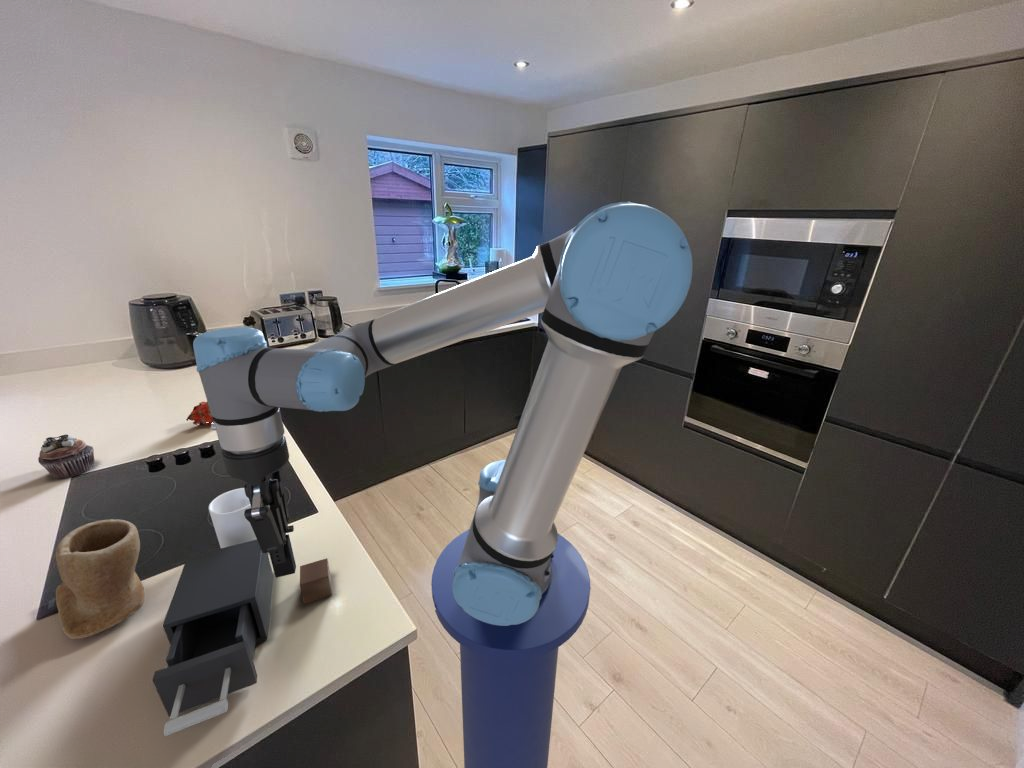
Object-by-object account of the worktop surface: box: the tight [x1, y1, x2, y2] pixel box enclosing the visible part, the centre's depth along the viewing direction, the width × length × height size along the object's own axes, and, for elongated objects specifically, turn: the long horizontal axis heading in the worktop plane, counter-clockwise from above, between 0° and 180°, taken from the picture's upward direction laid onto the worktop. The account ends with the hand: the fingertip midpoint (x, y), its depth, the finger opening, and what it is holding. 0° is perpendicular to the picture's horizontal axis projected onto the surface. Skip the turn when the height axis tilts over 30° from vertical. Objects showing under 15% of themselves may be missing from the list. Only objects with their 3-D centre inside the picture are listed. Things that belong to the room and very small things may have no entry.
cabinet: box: [162, 539, 274, 646], centre depth 65 cm, size 14×11×9 cm
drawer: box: [151, 603, 258, 737], centre depth 56 cm, size 18×10×7 cm, turn 26°
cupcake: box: [37, 434, 96, 480], centre depth 103 cm, size 10×10×10 cm
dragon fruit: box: [185, 401, 214, 426], centre depth 130 cm, size 8×8×12 cm
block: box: [299, 557, 333, 605], centre depth 71 cm, size 4×4×4 cm
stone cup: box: [55, 518, 145, 640], centre depth 66 cm, size 15×12×15 cm
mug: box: [208, 487, 257, 549], centre depth 80 cm, size 12×8×12 cm
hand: (286, 571), depth 63 cm, fingers closed
